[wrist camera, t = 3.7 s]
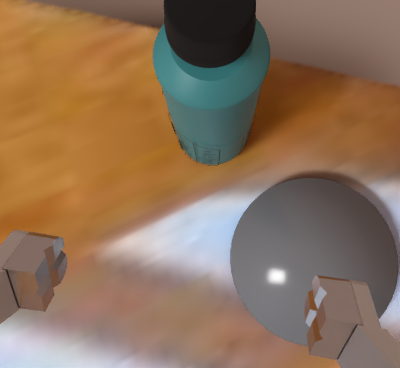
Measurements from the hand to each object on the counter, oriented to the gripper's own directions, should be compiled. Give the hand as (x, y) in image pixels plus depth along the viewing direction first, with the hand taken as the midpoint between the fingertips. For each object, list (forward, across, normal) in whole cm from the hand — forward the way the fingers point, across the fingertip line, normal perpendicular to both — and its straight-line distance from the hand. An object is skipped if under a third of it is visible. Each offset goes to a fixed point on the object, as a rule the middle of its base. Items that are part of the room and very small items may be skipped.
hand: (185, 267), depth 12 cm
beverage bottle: (+23, +1, +8) cm, 24 cm away
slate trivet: (+16, -10, +14) cm, 23 cm away
